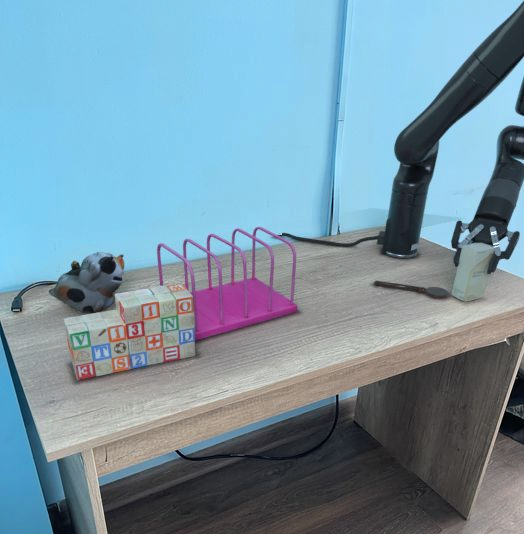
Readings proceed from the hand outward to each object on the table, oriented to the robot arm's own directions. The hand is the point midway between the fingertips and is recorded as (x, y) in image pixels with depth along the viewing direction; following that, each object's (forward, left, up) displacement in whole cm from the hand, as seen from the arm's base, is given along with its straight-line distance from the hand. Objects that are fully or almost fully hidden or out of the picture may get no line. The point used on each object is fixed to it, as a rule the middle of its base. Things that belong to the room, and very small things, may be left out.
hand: (472, 268), depth 118 cm
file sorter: (-49, -24, -8) cm, 55 cm away
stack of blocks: (-57, -49, -8) cm, 76 cm away
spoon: (-12, +1, -8) cm, 15 cm away
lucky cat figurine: (-78, -31, -8) cm, 85 cm away
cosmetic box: (0, +2, -8) cm, 8 cm away
